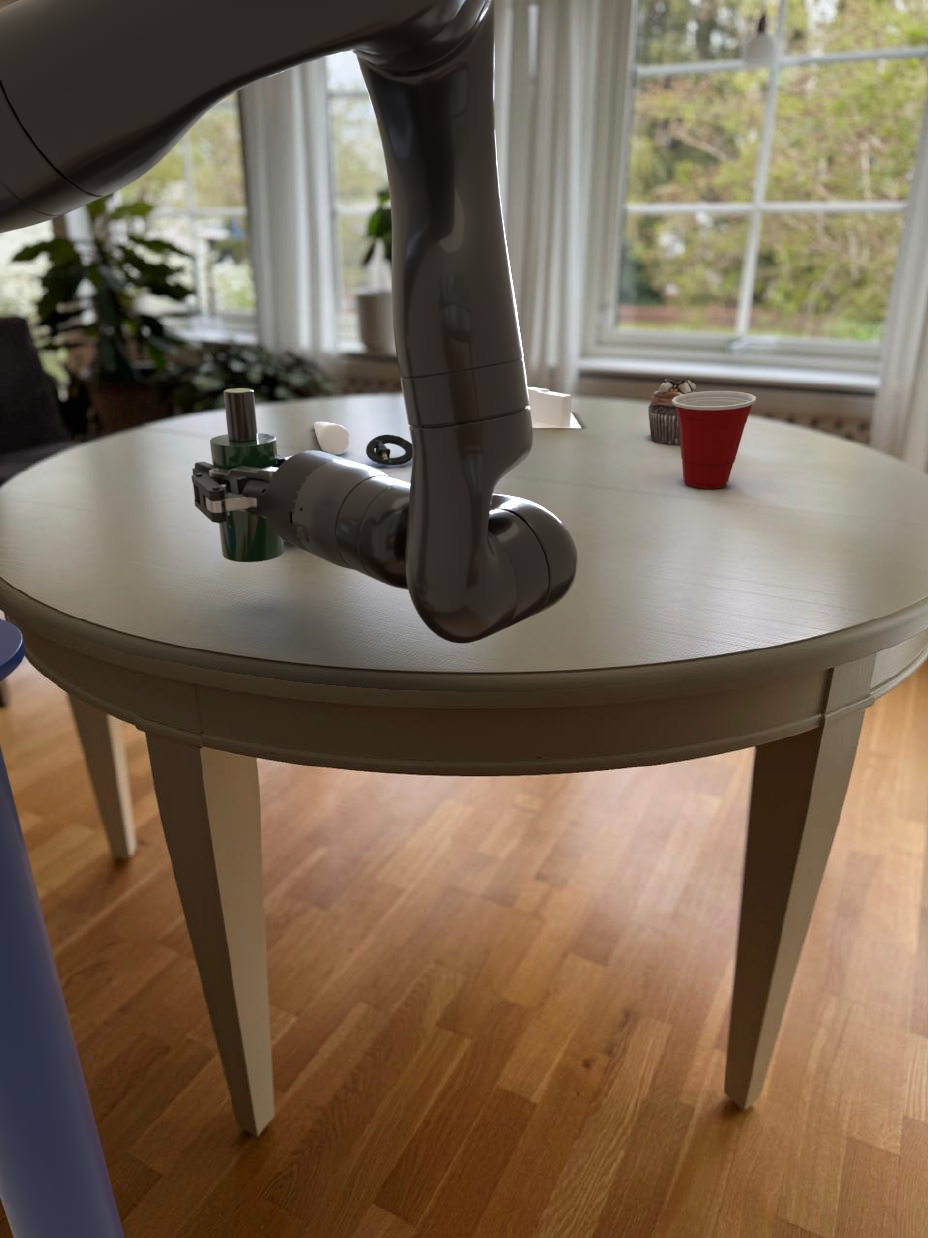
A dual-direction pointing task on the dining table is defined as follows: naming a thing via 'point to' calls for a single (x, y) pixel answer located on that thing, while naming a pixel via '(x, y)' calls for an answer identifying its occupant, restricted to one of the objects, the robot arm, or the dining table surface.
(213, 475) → the robot arm
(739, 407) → the plastic cup
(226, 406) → the green bottle
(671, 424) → the cupcake
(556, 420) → the napkin holder
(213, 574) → the dining table surface
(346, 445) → the unicorn horn
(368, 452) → the milk frother
